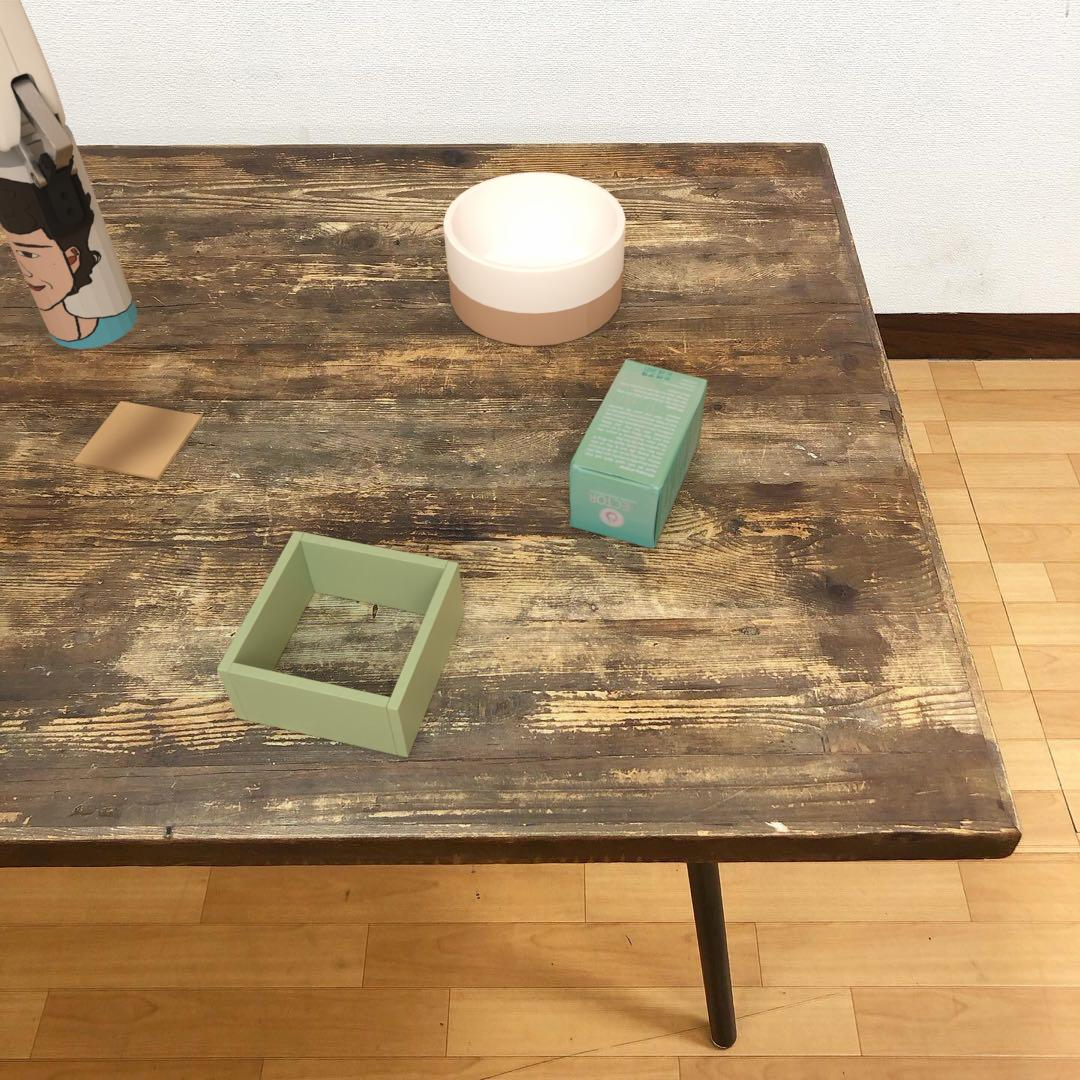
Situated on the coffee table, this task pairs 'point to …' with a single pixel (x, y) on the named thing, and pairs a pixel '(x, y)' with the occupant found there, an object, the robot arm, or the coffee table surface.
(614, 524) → the box
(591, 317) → the bowl
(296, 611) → the crate
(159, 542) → the coffee table surface
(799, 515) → the coffee table surface
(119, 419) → the coaster
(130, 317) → the grey printed cylinder
